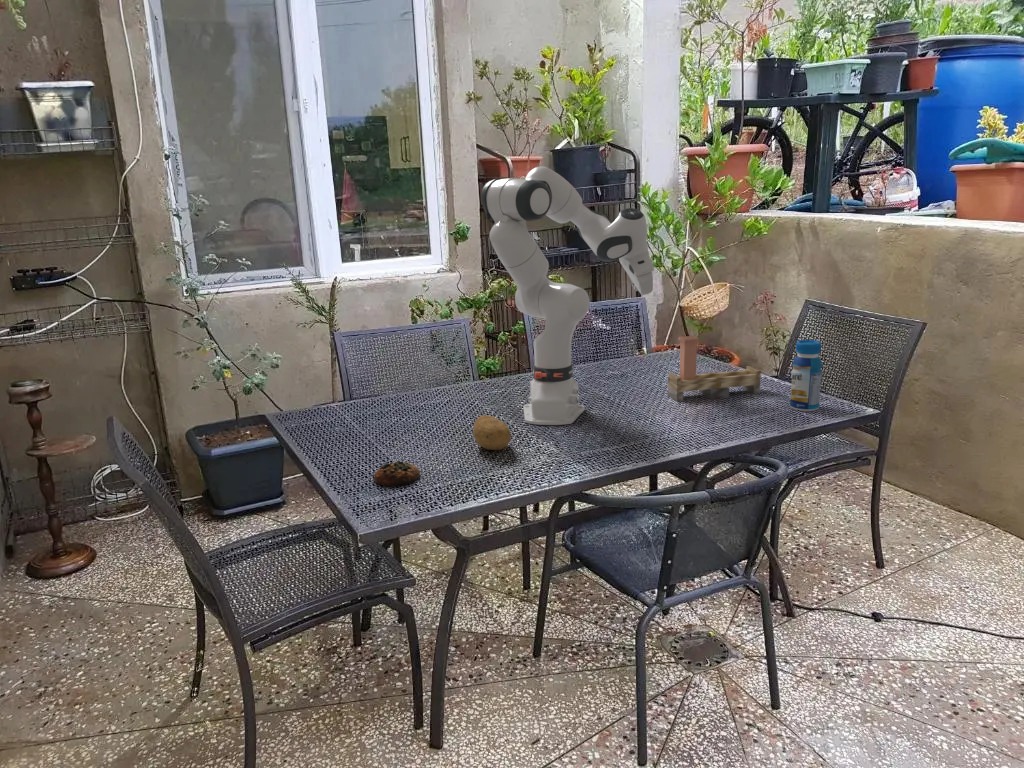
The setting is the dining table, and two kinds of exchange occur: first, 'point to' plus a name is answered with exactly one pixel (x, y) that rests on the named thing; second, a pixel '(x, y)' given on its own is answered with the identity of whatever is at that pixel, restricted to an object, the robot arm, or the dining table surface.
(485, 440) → the potato
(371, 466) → the dining table surface
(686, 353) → the terracotta square pillar
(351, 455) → the dining table surface
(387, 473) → the bread roll
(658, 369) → the dining table surface
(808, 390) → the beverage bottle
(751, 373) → the beam
